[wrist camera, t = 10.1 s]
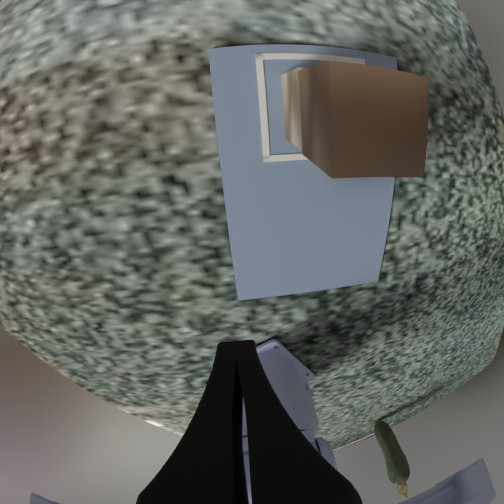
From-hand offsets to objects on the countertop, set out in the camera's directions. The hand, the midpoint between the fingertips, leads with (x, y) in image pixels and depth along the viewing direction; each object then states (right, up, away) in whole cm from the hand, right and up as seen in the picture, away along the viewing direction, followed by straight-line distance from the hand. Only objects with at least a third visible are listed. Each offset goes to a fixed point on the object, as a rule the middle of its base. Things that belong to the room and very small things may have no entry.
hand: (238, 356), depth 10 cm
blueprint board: (+5, +9, +7) cm, 12 cm away
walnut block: (+5, +11, +1) cm, 12 cm away
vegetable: (+27, -30, +33) cm, 52 cm away
